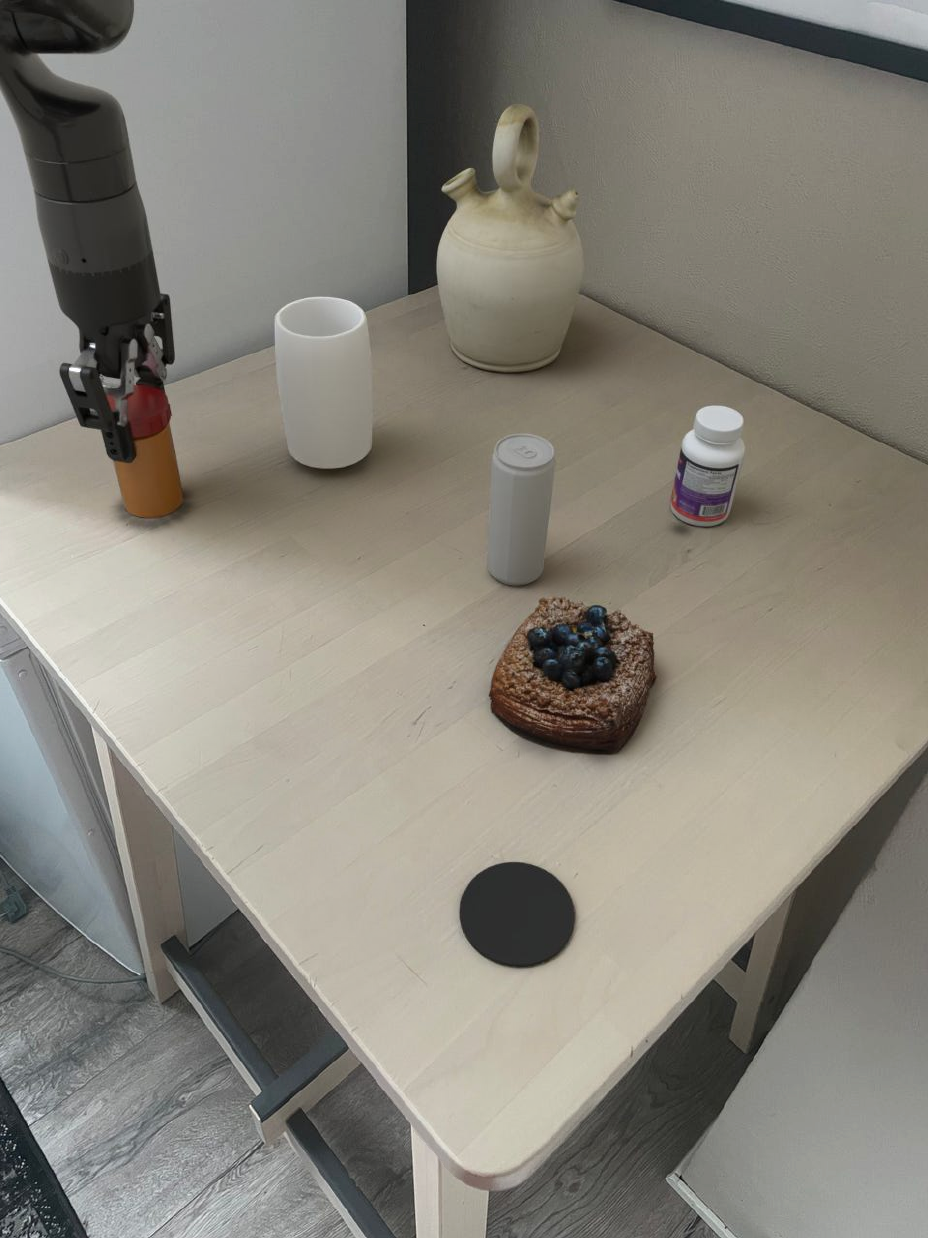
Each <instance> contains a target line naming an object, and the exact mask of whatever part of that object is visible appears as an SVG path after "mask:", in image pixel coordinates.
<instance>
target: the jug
mask: <svg viewBox="0 0 928 1238" xmlns="http://www.w3.org/2000/svg"><path fill="white" fill-rule="evenodd" d="M538 121H539V120H538V117H537V115H536V113H535V112H534V110H533V109H532V108H531V107H530V106H528V105H526V104H523V103H513V104H511V105H510V106H508V107H507V108H506V109H504V111H503V112H502V113H501V115H500V117H499V120H498V122H497V124H496V128H495V133H494V138H493V145H492V172H493V177H494V179H495V182H496V183H497V185H498V187H499V188H498V189H495V190H490V191H483V190H481V189H480V188H479V186H478V183H477V181H478V180H477V179H476V170H475V168H473V167H470V168H469V167H468V168H466V169H465V170H462V171H461V172H460V173H457V174H456V175H455V176H454V177H452V178H450V179H449V180H447V181H446V182H445V183H444V184H443V185H442V187H441V192H442V193H443V194H444V195H447V196H448V197H449V198H450V199H452V200H453V201H455V203H456V209H455V211H454V213H453V214H452V216H451V217H450V219H449V220H448V221H447V224H446V226H445V227H444V230H443V232H442V234H441V236H440V240H439V243H438V247H437V252H436V254H437V255H436V278H437V287H438V294H439V300H440V305H441V309H442V313H443V318H444V323H445V328H446V333H447V334H448V339H449V340H450V347H451V350H452V352H453V353H454V354H455V355H456V356H457V358H458V359H460V360H461V361H462V362H463V363H465V364H468V365H470V366H472V367H475V368H477V369H481V370H483V371H488V372H496V373H498V372H499V373H508V374H509V373H521V372H522V373H523V372H529V371H534V370H538V369H541V368H542V367H545V366H548V365H549V364H551V363H553V362H555V360H556V359H557V357H558V356H559V354H560V352H561V349H562V344H563V342H564V340H565V338H566V335H567V334H568V331H569V327H570V324H571V321H572V317H573V314H574V310H575V307H576V304H577V300H578V298H579V297H578V296H579V293H580V290H581V286H582V282H583V279H584V278H583V277H584V271H585V270H584V269H585V267H584V265H585V264H584V262H585V261H584V251H583V246H582V241H581V238H580V234H579V233H578V230H577V227H576V225H575V223H574V221H573V219H575V217H576V216H577V206H578V204H579V200H580V194H579V192H578V191H577V190H576V189H570V190H567V191H566V192H564V193H562V194H555V195H554V196H553V197H552V198H551V199H549V198H548V197H547V196H545V195H543V194H540V193H537V192H535V191H534V189H533V186H532V184H531V183H532V179H533V176H534V173H535V171H536V167H537V163H538V158H539V147H540V128H539V127H540V126H539V122H538Z"/></svg>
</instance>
